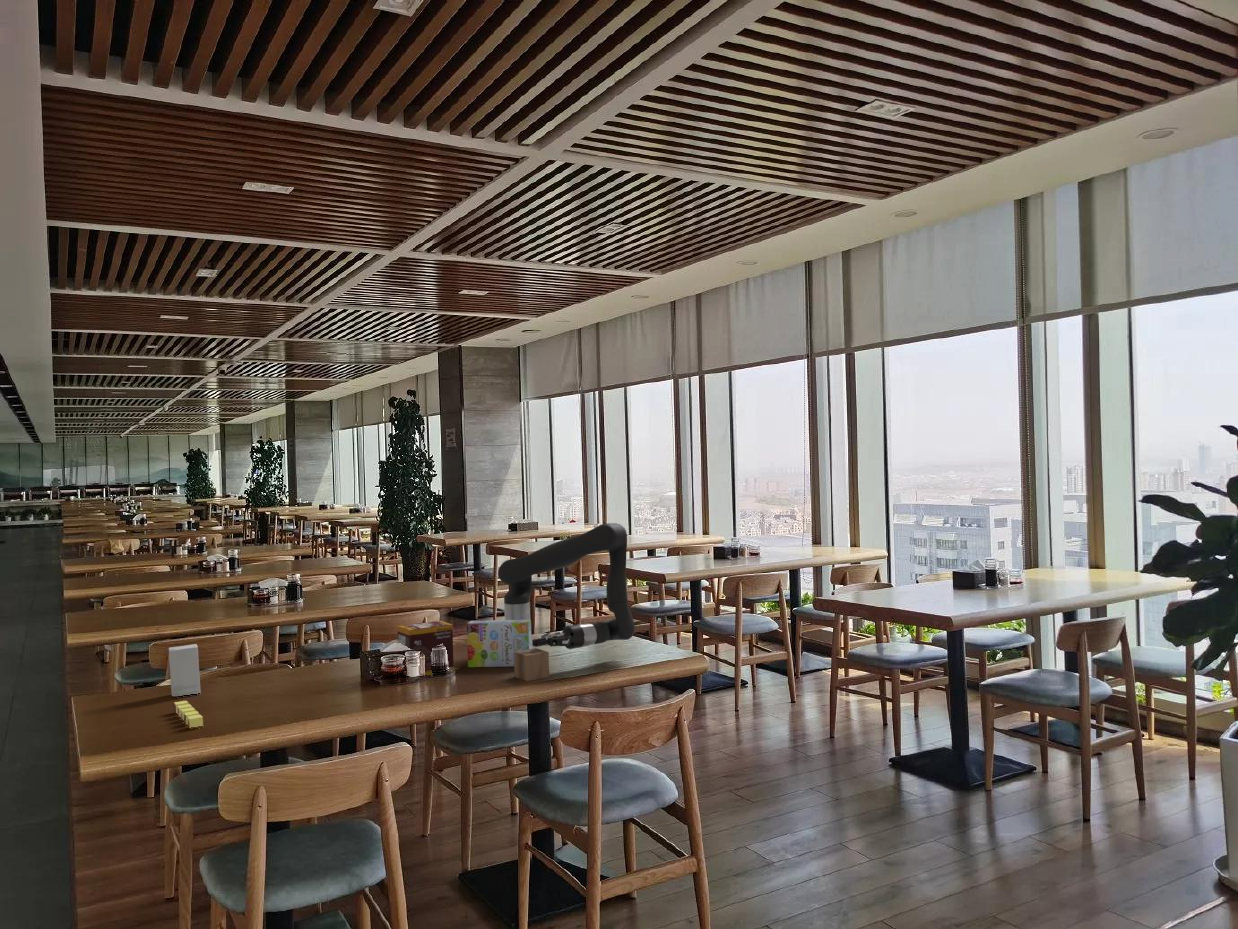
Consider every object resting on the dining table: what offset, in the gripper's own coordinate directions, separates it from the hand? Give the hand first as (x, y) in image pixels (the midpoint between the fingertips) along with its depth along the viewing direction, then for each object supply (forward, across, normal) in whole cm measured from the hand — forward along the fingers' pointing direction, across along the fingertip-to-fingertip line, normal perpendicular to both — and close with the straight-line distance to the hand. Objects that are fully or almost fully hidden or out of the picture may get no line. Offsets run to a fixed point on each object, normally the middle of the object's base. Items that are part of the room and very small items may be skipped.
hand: (533, 643), depth 294 cm
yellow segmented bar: (+100, -20, +11) cm, 102 cm away
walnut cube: (-3, 0, +7) cm, 7 cm away
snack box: (+1, -22, +11) cm, 25 cm away
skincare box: (+93, -53, +11) cm, 107 cm away
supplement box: (+24, -30, +11) cm, 40 cm away
